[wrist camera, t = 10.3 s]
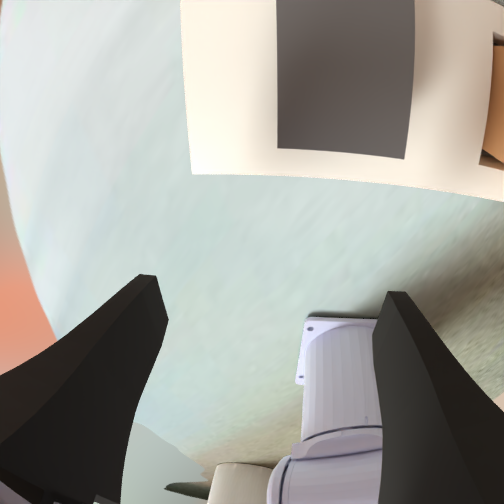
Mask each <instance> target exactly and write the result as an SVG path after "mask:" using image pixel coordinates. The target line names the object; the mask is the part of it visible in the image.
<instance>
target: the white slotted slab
mask: <svg viewBox="0 0 504 504" xmlns="http://www.w3.org/2000/svg"><path fill="white" fill-rule="evenodd" d="M180 8H181V36H182V56H183V73H184V88H185V101H186V114H187V126H188V137H189V147H190V158H191V167H192V174H244V175H276V176H297V177H313V178H328V179H341V180H353V181H364V182H374V183H383V184H392V185H401V186H409V187H417V188H424V189H431V190H438V191H445V192H451V193H457V194H463V195H469V196H475V197H481V198H486V199H491V200H497V201H502V202H504V163H502V162H501V161H500V160H498V159H497V158H495V157H494V156H492V155H491V154H489V153H488V152H486V151H485V150H483V149H482V145H483V140H484V134H485V128H486V122H487V115H488V107H489V99H490V89H491V77H492V60H493V46H504V7H503V6H501V5H499V4H497V3H495V2H493V1H491V0H180Z"/></svg>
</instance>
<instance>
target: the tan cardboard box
mask: <svg viewBox="0 0 504 504" xmlns="http://www.w3.org/2000/svg"><path fill="white" fill-rule="evenodd" d="M482 149H483V150H485V151H486V152H488V153H489V154H491V155H492V156H494V157H495V158H497V159H498V160H500V161H501V162H502V163H504V46H493V60H492V77H491V89H490V99H489V107H488V115H487V122H486V128H485V134H484V140H483V145H482Z"/></svg>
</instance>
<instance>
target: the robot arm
mask: <svg viewBox="0 0 504 504" xmlns="http://www.w3.org/2000/svg"><path fill="white" fill-rule="evenodd" d="M168 320H169V319H168V316H167V312H166V309H165V306H164V302H163V299H162V295H161V292H160V288H159V284H158V281H157V277H156V276H153V275H143V274H139V275H138V276H137V277H135V278H134V279H133V280H132V281H130V282H129V283H128V284H127V285H126V286H124V287H123V288H122V289H121V290H120V291H118V292H117V293H116V294H115V295H114V296H113V297H111V298H110V299H109V300H108V301H107V302H106V303H104V304H103V305H102V306H101V307H100V308H99V309H97V310H96V311H95V312H94V313H93V314H92V315H90V316H89V317H88V318H87V319H85V320H84V321H83V322H82V323H80V324H79V325H78V326H77V327H75V328H74V329H73V330H72V331H70V332H69V333H68V334H67V335H65V336H64V337H63V338H61V339H60V340H58V341H57V342H56V343H54V344H53V345H51V346H50V347H48V348H47V349H45V350H44V351H42V352H41V353H39V354H38V355H36V356H34V357H33V358H31V359H29V360H28V361H26V362H24V363H23V364H21V365H19V366H17V367H16V368H14V369H12V370H10V371H8V372H6V373H4V374H2V375H0V504H93V503H94V502H97V503H99V504H120V500H121V498H120V497H121V486H122V476H123V469H124V462H125V456H126V451H127V446H128V441H129V436H130V431H131V428H132V423H133V420H134V416H135V412H136V409H137V406H138V403H139V400H140V397H141V395H142V392H143V390H144V387H145V385H146V383H147V380H148V378H149V375H150V373H151V370H152V368H153V366H154V363H155V361H156V358H157V356H158V353H159V351H160V348H161V346H162V342H163V339H164V335H165V332H166V328H167V324H168ZM295 383H296V384H300V385H304V394H303V413H302V430H301V442H300V443H293V444H292V452H291V455H287V456H285V457H283V458H282V459H281V460H280V462H279V463H278V464H277V465H276V467H275V468H274V470H273V471H272V474H271V476H270V479H269V483H268V488H267V504H504V412H503V411H502V410H501V409H500V408H499V407H498V406H497V405H496V404H495V403H494V402H493V401H492V400H491V399H490V398H489V397H488V396H487V395H486V394H485V393H484V391H483V390H482V389H481V388H480V387H479V386H478V385H477V384H476V382H475V381H474V380H473V379H472V378H471V377H470V376H469V374H468V373H467V372H466V371H465V370H464V368H463V367H462V366H461V365H460V363H459V362H458V361H457V360H456V358H455V357H454V356H453V355H452V353H451V352H450V351H449V349H448V348H447V347H446V345H445V344H444V343H443V341H442V340H441V339H440V337H439V336H438V335H437V333H436V332H435V331H434V329H433V328H432V327H431V325H430V324H429V322H428V321H427V320H426V318H425V317H424V316H423V314H422V313H421V311H420V310H419V309H418V307H417V306H416V305H415V303H414V302H413V301H412V299H411V298H410V297H409V296H408V294H407V293H406V292H397V291H388V292H387V295H386V298H385V300H384V303H383V306H382V309H381V312H380V315H379V317H378V319H351V318H326V317H308V318H306V319H305V322H304V329H303V335H302V342H301V348H300V354H299V360H298V366H297V372H296V378H295Z"/></svg>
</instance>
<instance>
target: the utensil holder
mask: <svg viewBox="0 0 504 504" xmlns="http://www.w3.org/2000/svg"><path fill="white" fill-rule="evenodd" d="M272 471H273V469H270V468H267V467H262V466H257V465H251V464H242V463H222V464H219V465H217V467H216V470H215V474H214V478H213V482H212V486H211V490H210V494H209V498H208V502H207V504H267V488H268V483H269V479H270V476H271V474H272Z"/></svg>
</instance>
